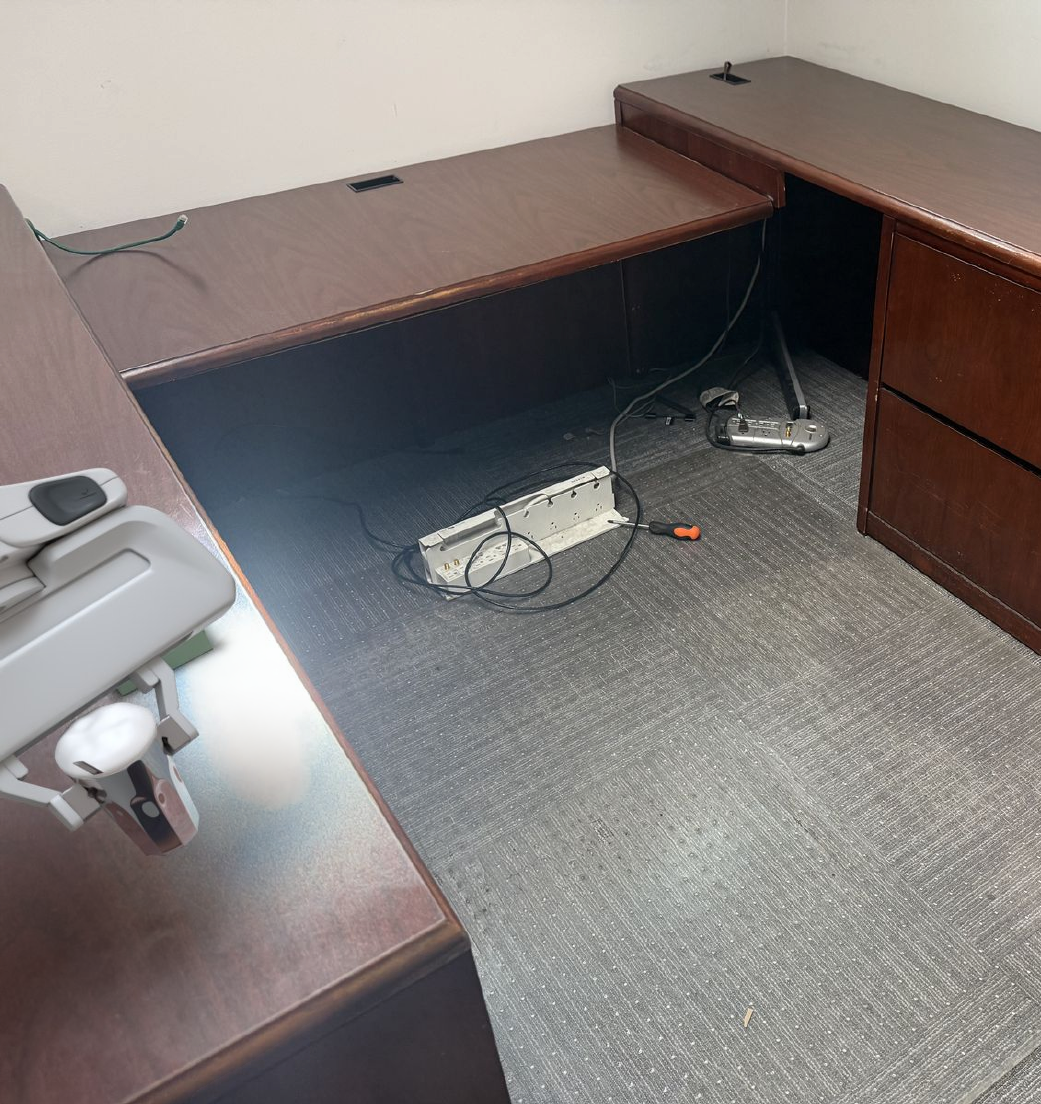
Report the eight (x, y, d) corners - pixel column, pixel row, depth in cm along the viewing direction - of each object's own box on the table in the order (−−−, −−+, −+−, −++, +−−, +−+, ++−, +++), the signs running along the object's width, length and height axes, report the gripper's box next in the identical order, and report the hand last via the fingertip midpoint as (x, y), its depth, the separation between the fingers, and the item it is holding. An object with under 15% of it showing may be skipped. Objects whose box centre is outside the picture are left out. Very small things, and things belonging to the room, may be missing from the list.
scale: (119, 698, 76) (97, 663, 74) (77, 639, 81) (56, 605, 78) (213, 648, 80) (195, 613, 77) (167, 595, 85) (150, 561, 82)
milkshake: (115, 890, 53) (23, 774, 47) (131, 809, 57) (49, 691, 51) (206, 868, 54) (128, 750, 48) (216, 789, 58) (145, 671, 51)
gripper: (-324, 696, 41) (-72, 939, 43) (137, 452, 54) (311, 648, 56) (-298, 725, 45) (-72, 943, 48) (121, 494, 59) (282, 673, 61)
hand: (139, 781), depth 52 cm, fingers closed on milkshake, 4 cm apart
